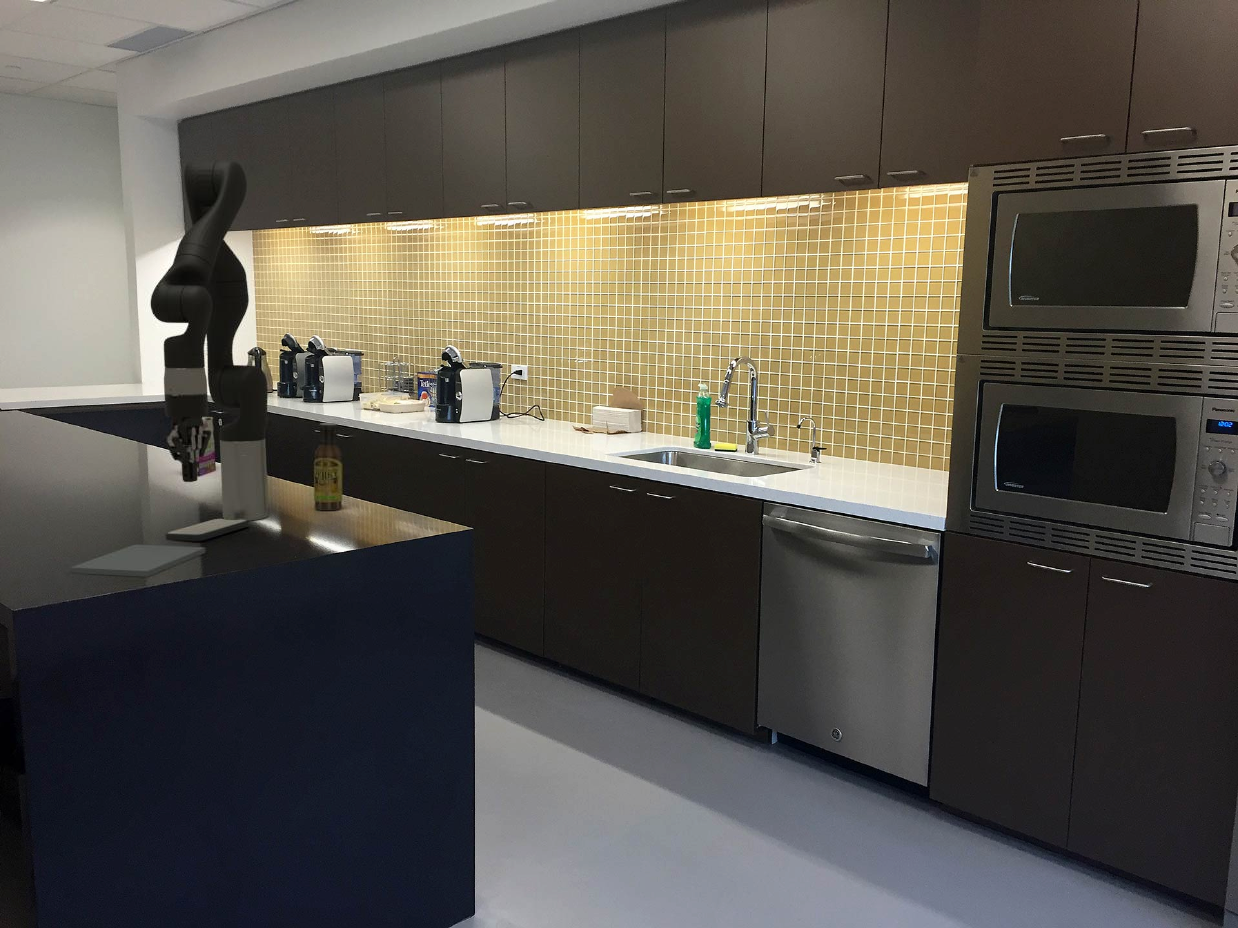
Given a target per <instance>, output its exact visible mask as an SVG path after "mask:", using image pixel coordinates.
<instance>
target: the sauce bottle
mask: <svg viewBox="0 0 1238 928" xmlns="http://www.w3.org/2000/svg"><path fill="white" fill-rule="evenodd" d="M338 425H339V424H338V423H336V422H323V423H322V422H321V423H319V425H318V426H319V427H318V428H319V429H318V430H319V445H318V446H317V448H316V450H315V451H314V463H313V471H314V472H313V473H314V474H313V475H314V476H313V478H314V481H313V486H314V487H313V491H314V493H313V500H314V508H315V509H316V510H317V511H318V510H320V511H338V510H341V509H342V506H343V505H342V501H343V462H342V461H343V458H342V457H343V453H342V451H341V449H340V447H339V445H338V438H337V437H338V429H339V427H338Z"/></svg>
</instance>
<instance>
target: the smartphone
mask: <svg viewBox="0 0 1238 928" xmlns="http://www.w3.org/2000/svg"><path fill="white" fill-rule="evenodd" d="M249 526H250V520H240V519H223V518H215V519H211V520H208V521H207V520H206V521H203V522H200V523H196V524H193V525H189V526H187V527H182V528H178V529H176V530H172V531H168V532H166V533H165V540H167V541H178V542H179V541H180V542H181V541H183V542H184V541H185V542H202V541H206V540H208V539H213V538H215V537H219V536H221V535H225V534H229V533H232V532H235V531H239V530H241V529H245V528H247V527H248V528H249Z"/></svg>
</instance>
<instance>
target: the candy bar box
mask: <svg viewBox="0 0 1238 928" xmlns="http://www.w3.org/2000/svg"><path fill="white" fill-rule="evenodd" d="M202 420H203V423H204V427H203V428H204V429H205V430H210V431H211V436H210V439H209V442H208V445H207V448H206V450H205V453H204V456H203V457H200V458H199V461H198V462H197V478H198V477H203V476H205V475H209V474H211V473H213V472H215V471H216V470H217V465H216V463H217V462H216V450H215V434H214V433H215V432H214V417H212V416H204V417H202Z"/></svg>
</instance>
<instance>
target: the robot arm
mask: <svg viewBox="0 0 1238 928" xmlns="http://www.w3.org/2000/svg"><path fill="white" fill-rule="evenodd" d="M183 173H184V174H183V180H184V181H183V182H184V183H183V184H184V191H185V196H186V201H187V206H188V209H189V215H190V220H191V225H192V226H191V227H190V228H189V229H188V230H187V231H186V232H185V233H184V235H183V236H182V237H181V240H180V242H179V244H178V246H177V249H176V252H175V255H174V259H173V261H172V264H171V266H169V268H168V270H166V272H165V274H164V275H163V276H162V278H161V279H160V280H159V282H158V283H157V284H156V285H155V287H154V289H153V291H152V294H151V297H150V309H151V313H152V315H153V316H154V318H156V319H157V320H158V321H160V322H162V323H164V324H165V323H167V324H187V327H186V329H185V331H184V332H183V333H182V334H177V335H173V336H169V337H167V338H165V339H164V340H163V341H164V342H163V360H164V361H163V363H164V376H163V390H164V412H165V416H166V417H167V418H171V424H170V430H171V432H170V434H169V435H165V436H164V437H163V443H165V446H166V447H167V450H168V451H169V453H170V455H171V457H172V458H173V460H174V461H178V462H179V463H181V474H182V476H181V477H182V481H183V482H184V483H194V482H197V481H198V477H197V462H198V461H199V458H200V457H203V456H204V453H205V450H206V448H207V445H208V442H209V439H210V436H211V431H210V430H205V429H204V428H203V427H204V423H203V420H202V417H208V415H209V397H208V396H209V395H208V390H209V394H210V399H211V400H212V401H213V403H214V404H215V405H216V406H217V407H220V408H228V409H233V408H234V409H239V414H238V415H239V416H238V418H236V419H235V420H234V421H232V422H230V423H227V424H224V425H222V426H221V427H220V428H219V446H220V447H219V452H220V453H219V454H220V471H221V472H220V473H221V474H220V475H221V498H222V499H221V500H222V501H221V503H222V519H223V518H224V519H240V520H249V521H256V520H262V519H265V518H268V516H269V512H270V511H269V489H268V473H267V472H268V471H267V452H266V451H267V450H266V429H267V425H268V399H269V397H268V396H269V395H268V393H269V392H268V381H267V376H266V373H265V372H264V371H263V369H262V368H261V367H260V366H257V365H246V364H245V365H243V364H241V365H240V364H234V358H233V357H234V356H233V348H234V347H233V346H234V339H235V337H236V334H237V332H238V329H239V327H240V325H241V323H242V322H243V319H244V318H245V315H246V313H247V310H248V308H249V302H250V301H249V288H248V281H247V279H248V278H247V273H246V270H245V268H244V266H243V264H242V262H241V261H240V260H239V257H238V256H237V255H236V254H235V253H234V251H233V250H232V248H231V247H230V246H229V245H228V243H227V242H226V241H225V237H226V236H227V234H228V232H229V230H230V229H231V226H232V225H233V223H234V221H235V219H236V218H237V215H238V213H239V211H240V209H241V208H242V205H243V204H244V200H245V197H246V195H247V188H248V185H247V184H248V183H247V177H246V174H245V171H244V168H243V167H242V165H241V164H240V163H239V162H237V161H236V160H232V159H195V160H194V159H193V160H190V161H189V162H187V163H186V165H185V167H184V172H183ZM205 342H206V343H205ZM205 344H206V346H207V347H206V349H207V350H206V351H207V352H206V353H207V357H206V358H207V373H206V367H205V364H206V362H205ZM206 374H207V375H206Z"/></svg>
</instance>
